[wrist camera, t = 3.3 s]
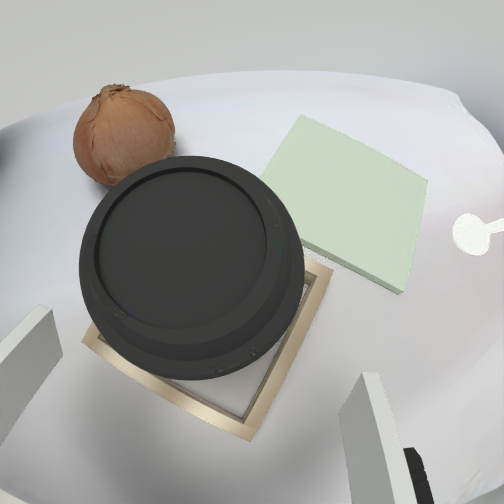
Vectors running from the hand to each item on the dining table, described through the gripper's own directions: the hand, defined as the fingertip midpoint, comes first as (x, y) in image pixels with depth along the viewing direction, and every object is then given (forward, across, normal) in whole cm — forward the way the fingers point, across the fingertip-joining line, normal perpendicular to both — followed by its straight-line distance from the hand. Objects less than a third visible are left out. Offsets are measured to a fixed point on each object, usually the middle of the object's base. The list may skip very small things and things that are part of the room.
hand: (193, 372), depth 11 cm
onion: (+20, -12, +4) cm, 24 cm away
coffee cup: (+11, -1, -5) cm, 12 cm away
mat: (+20, +10, +4) cm, 23 cm away
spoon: (+22, +31, +5) cm, 38 cm away
